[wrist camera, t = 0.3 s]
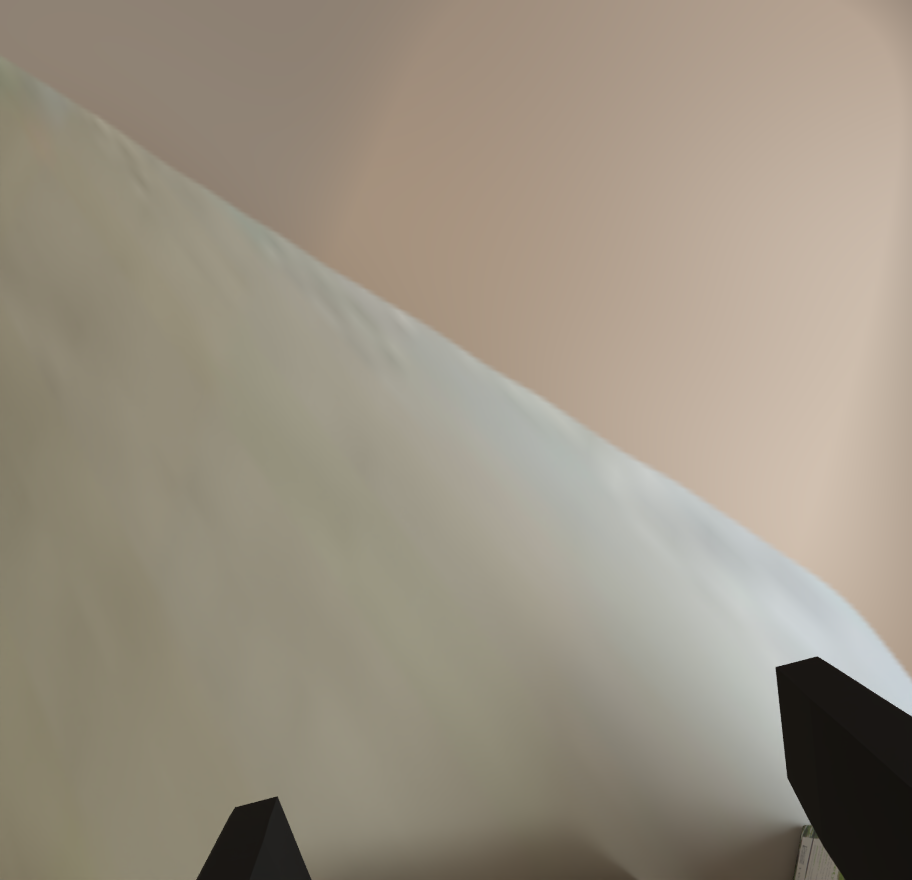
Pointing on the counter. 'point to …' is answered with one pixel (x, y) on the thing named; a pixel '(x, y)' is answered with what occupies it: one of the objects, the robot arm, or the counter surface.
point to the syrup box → (814, 859)
